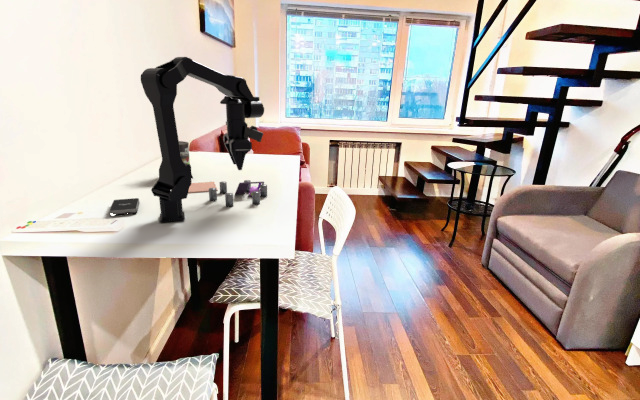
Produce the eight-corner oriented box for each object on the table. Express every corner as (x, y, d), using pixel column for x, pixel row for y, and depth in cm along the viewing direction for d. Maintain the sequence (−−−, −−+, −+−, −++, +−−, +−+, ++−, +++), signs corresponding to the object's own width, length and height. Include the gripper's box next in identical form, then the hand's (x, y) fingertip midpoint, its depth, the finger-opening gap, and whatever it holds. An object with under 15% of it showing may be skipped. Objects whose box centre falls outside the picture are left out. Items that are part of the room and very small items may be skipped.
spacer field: (273, 203, 114) (273, 191, 113) (212, 208, 107) (211, 196, 106) (261, 189, 129) (261, 179, 128) (207, 193, 122) (206, 182, 121)
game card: (234, 192, 122) (258, 190, 127) (237, 204, 120) (262, 202, 125) (238, 180, 117) (263, 179, 122) (242, 193, 115) (267, 191, 120)
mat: (217, 191, 125) (217, 190, 125) (188, 193, 121) (187, 192, 121) (214, 183, 135) (214, 181, 135) (186, 184, 132) (186, 183, 131)
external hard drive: (109, 217, 98) (108, 211, 97) (114, 205, 108) (113, 199, 107) (137, 215, 101) (136, 208, 100) (139, 203, 110) (139, 197, 110)
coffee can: (195, 175, 146) (193, 141, 142) (182, 181, 136) (179, 145, 132) (173, 173, 148) (170, 140, 143) (158, 179, 138) (154, 143, 134)
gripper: (268, 121, 105) (268, 172, 110) (254, 116, 121) (255, 160, 126) (230, 121, 101) (232, 174, 106) (221, 116, 117) (224, 161, 122)
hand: (237, 167), depth 115 cm, fingers open, 9 cm apart
